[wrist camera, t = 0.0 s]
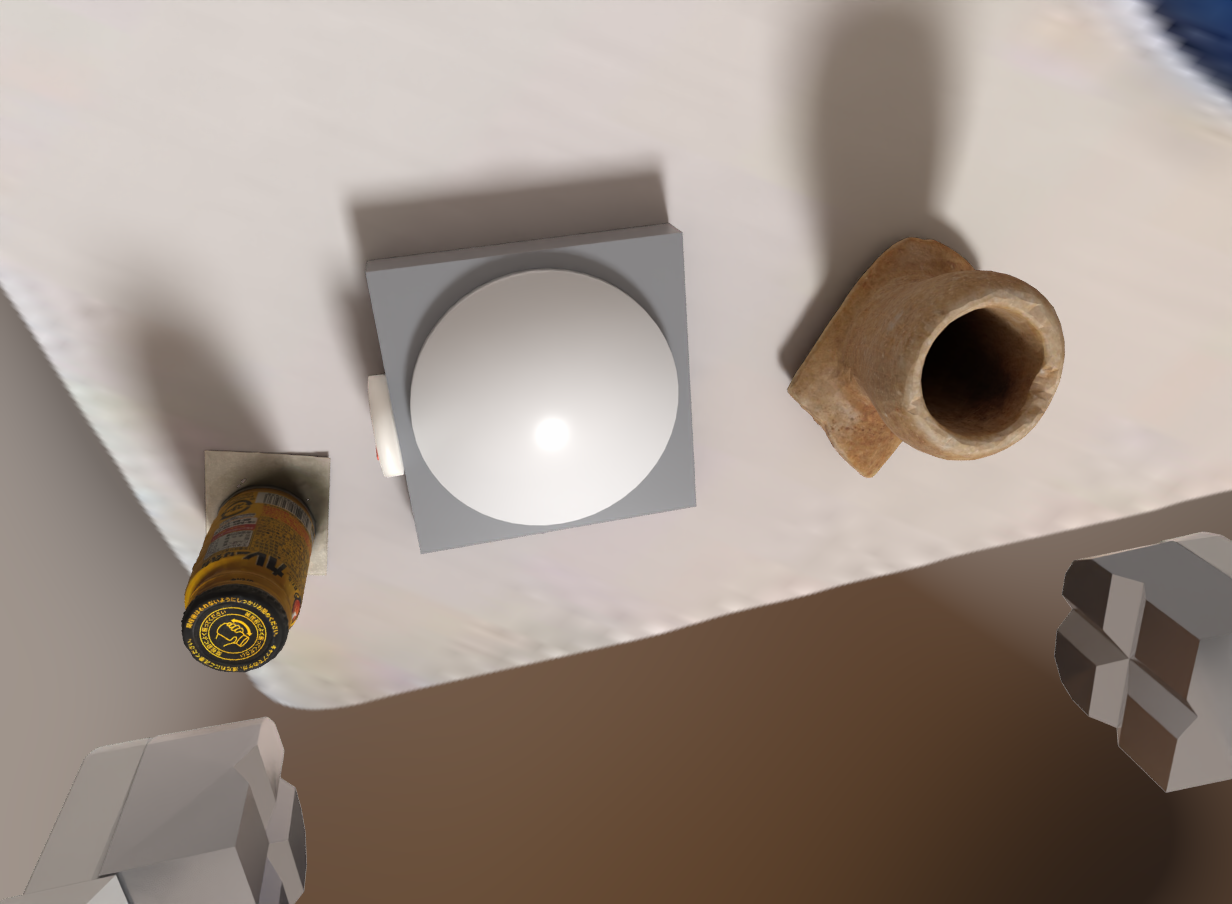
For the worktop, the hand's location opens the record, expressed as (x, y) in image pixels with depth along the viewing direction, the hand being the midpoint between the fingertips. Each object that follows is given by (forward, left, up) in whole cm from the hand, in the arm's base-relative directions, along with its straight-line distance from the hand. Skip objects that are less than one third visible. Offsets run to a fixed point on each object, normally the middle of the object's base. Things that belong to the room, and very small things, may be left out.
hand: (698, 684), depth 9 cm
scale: (+14, +3, -48) cm, 50 cm away
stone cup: (+15, +25, -48) cm, 56 cm away
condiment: (+20, -15, -48) cm, 54 cm away
